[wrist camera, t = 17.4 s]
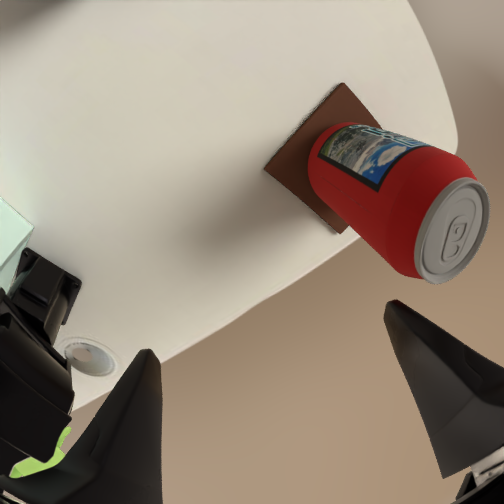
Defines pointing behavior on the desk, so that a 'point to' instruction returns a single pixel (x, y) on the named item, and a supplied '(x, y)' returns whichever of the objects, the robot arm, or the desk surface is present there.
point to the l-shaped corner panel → (11, 242)
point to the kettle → (35, 466)
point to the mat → (300, 144)
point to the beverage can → (402, 198)
